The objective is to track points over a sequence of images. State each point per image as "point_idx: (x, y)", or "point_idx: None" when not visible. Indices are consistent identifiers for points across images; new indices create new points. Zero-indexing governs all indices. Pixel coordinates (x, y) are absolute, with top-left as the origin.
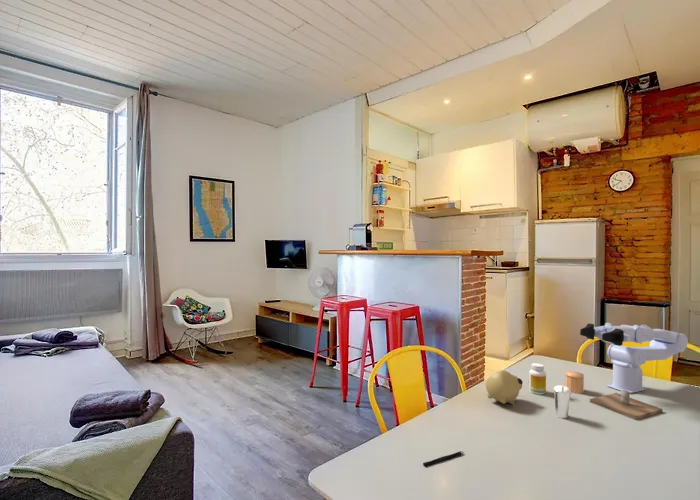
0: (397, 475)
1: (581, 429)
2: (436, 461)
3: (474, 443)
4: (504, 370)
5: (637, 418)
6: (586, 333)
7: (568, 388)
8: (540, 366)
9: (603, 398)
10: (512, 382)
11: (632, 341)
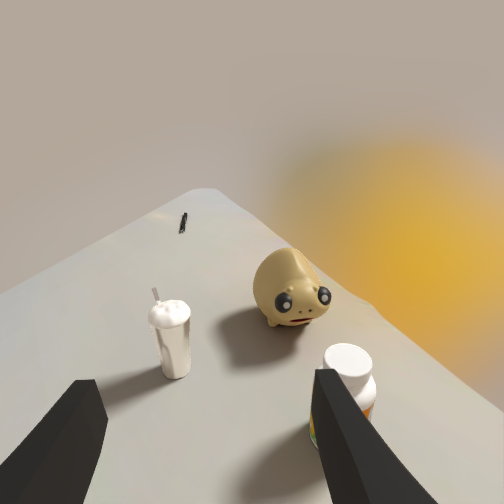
0: (186, 205)
1: (116, 357)
2: (183, 218)
3: (191, 243)
4: (293, 257)
5: None
6: (334, 479)
7: (155, 315)
8: (325, 353)
9: None
10: (268, 277)
11: None
